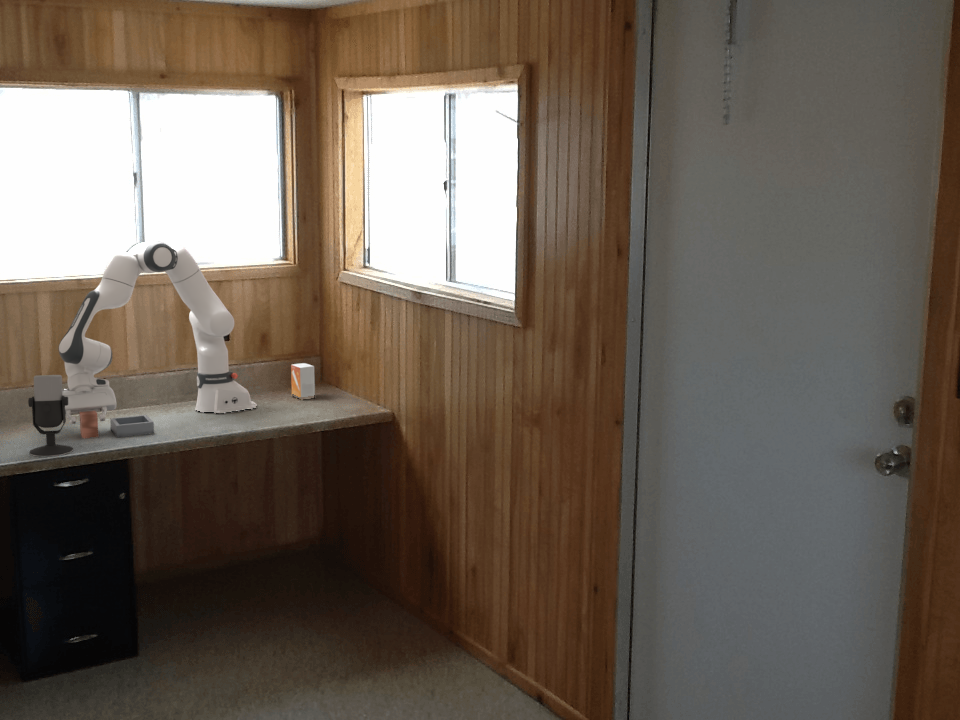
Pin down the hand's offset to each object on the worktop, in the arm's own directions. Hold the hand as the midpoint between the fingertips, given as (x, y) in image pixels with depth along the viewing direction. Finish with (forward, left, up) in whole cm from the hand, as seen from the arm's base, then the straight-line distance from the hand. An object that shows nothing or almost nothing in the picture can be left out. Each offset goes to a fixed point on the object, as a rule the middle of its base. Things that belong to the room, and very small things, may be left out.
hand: (88, 421), depth 383 cm
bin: (-14, 0, -5) cm, 15 cm away
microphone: (+14, +16, -5) cm, 22 cm away
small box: (-84, -27, -5) cm, 88 cm away
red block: (0, 0, -5) cm, 5 cm away
